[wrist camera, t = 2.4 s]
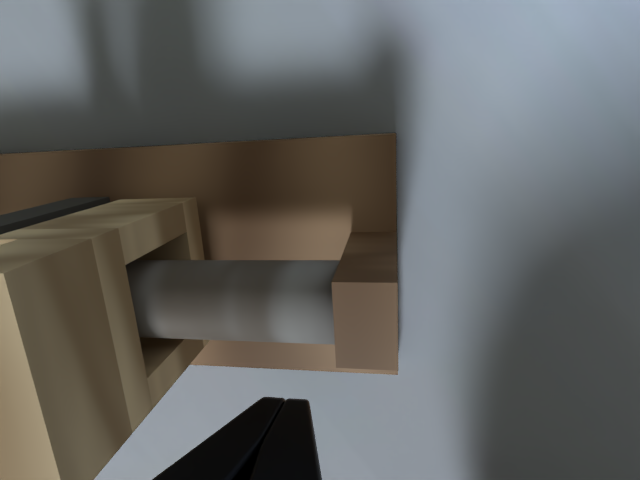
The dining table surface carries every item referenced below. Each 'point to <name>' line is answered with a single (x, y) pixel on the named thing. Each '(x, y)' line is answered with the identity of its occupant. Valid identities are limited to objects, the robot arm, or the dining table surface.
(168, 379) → the sleeve
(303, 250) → the pipe stand
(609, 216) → the dining table surface
